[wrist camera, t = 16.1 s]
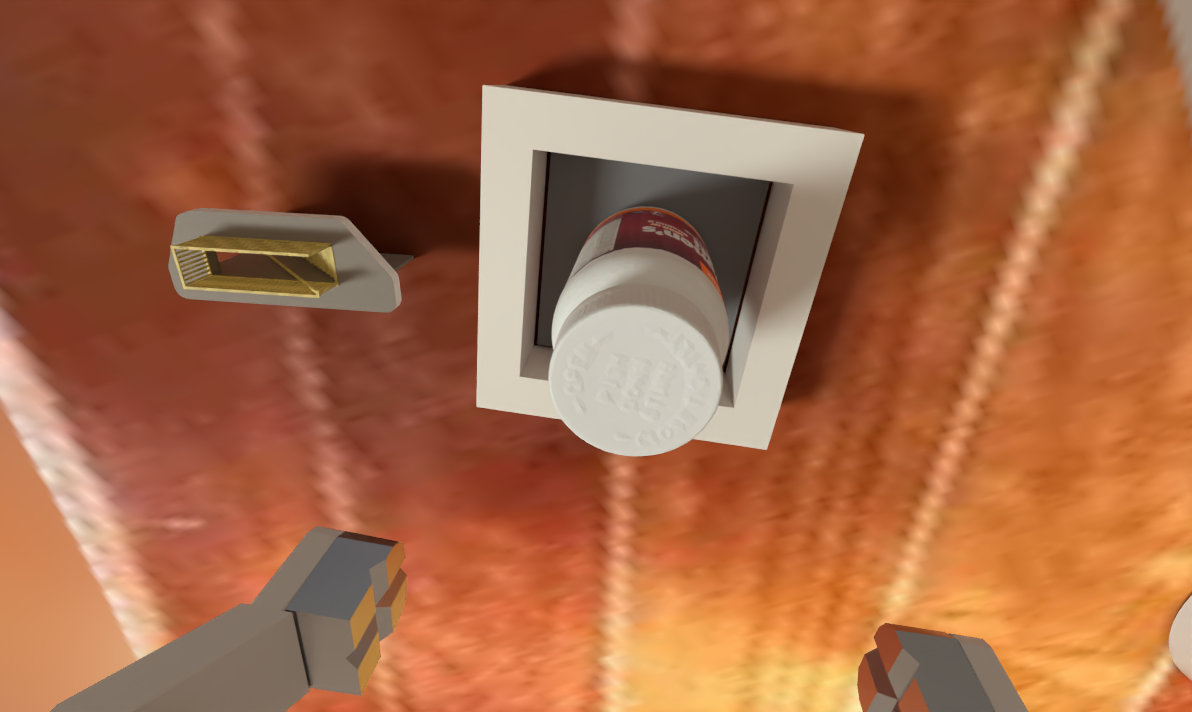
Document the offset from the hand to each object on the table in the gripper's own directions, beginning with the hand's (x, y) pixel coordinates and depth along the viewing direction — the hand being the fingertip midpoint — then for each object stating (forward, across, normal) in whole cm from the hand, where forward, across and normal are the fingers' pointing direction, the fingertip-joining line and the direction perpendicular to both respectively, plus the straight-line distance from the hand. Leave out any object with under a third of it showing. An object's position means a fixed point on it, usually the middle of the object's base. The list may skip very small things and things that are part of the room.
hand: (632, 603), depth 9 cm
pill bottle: (+19, 0, 0) cm, 19 cm away
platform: (+19, +16, +1) cm, 25 cm away
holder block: (+19, 0, 0) cm, 19 cm away
